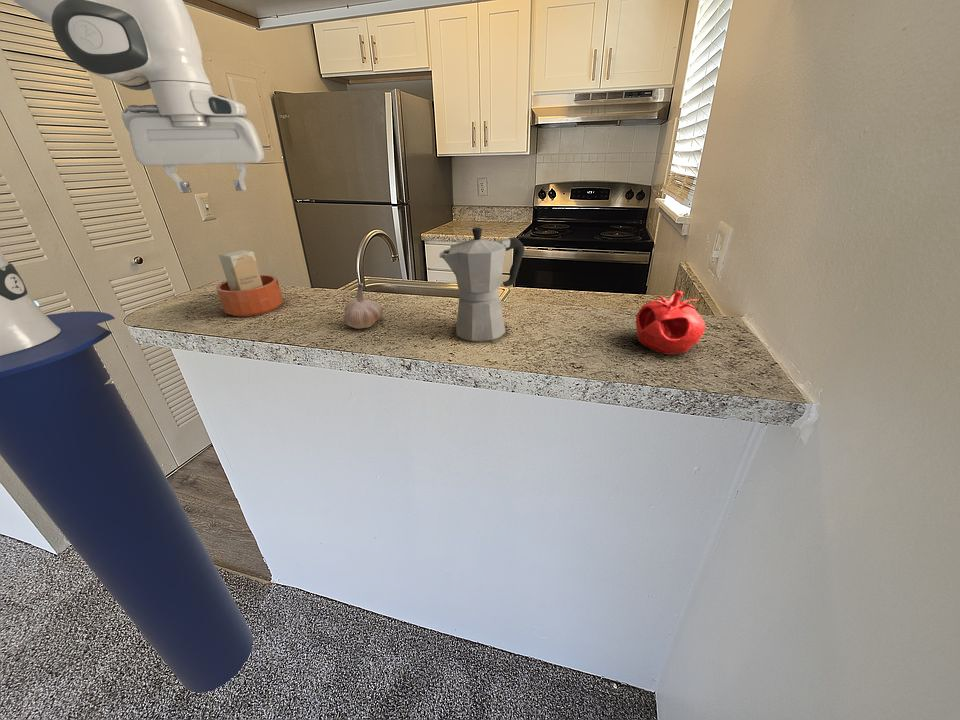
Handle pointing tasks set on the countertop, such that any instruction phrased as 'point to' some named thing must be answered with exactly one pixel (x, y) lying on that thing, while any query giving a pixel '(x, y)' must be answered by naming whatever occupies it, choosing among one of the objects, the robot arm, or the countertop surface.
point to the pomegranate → (669, 325)
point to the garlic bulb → (362, 311)
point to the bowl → (251, 298)
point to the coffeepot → (481, 284)
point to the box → (241, 270)
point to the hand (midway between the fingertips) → (214, 191)
